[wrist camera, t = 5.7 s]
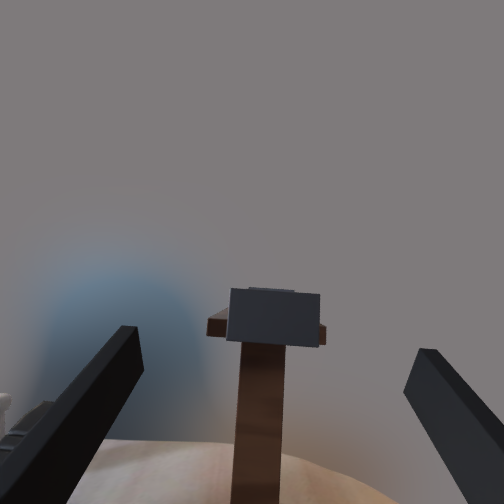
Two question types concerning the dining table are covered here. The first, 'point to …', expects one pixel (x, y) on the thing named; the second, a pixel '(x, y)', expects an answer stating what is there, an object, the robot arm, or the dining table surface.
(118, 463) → the dining table surface
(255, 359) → the stand
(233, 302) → the remote
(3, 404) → the salt shaker
